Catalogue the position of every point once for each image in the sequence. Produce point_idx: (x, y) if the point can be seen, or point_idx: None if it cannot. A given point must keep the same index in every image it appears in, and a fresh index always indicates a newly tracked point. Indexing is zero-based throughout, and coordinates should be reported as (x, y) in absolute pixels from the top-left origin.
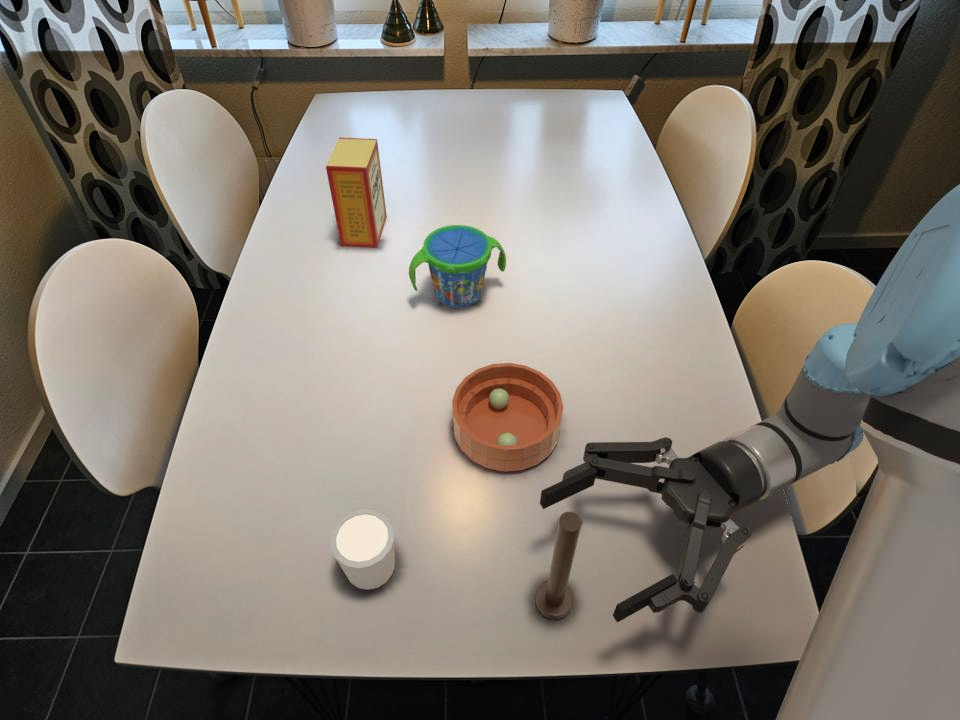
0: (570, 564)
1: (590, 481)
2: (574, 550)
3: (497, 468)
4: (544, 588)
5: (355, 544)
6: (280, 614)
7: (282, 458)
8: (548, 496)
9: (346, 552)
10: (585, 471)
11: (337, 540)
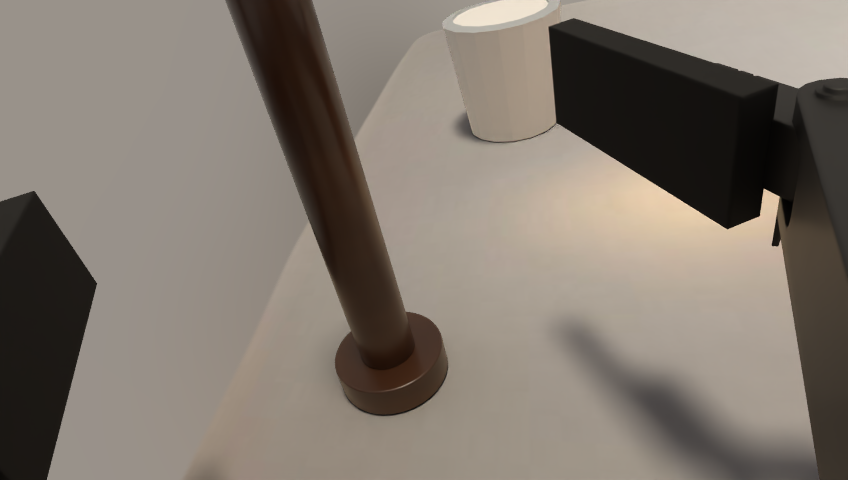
0: (269, 112)
1: (710, 162)
2: (231, 7)
3: None
4: (418, 327)
5: (486, 12)
6: (445, 82)
7: (709, 24)
8: (558, 45)
9: (472, 11)
10: (724, 70)
11: (495, 1)
